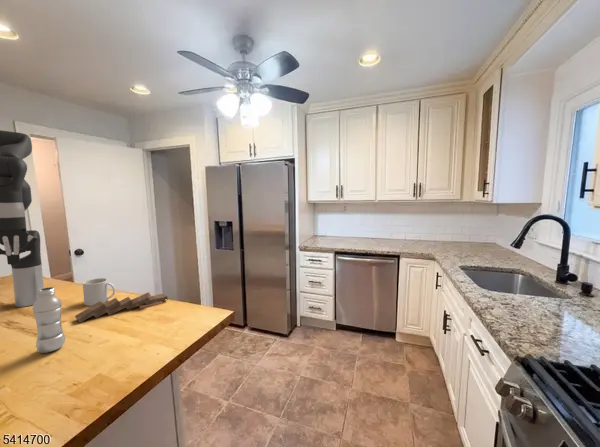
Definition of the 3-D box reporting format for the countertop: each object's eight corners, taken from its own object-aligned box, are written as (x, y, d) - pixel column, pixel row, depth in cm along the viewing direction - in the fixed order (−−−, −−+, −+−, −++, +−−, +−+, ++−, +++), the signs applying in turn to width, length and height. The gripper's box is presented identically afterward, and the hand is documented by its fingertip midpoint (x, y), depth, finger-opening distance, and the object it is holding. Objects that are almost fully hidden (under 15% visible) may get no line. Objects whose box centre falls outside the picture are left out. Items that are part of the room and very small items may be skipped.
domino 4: (125, 307, 109) (148, 297, 112) (127, 301, 113) (148, 292, 117) (127, 310, 110) (150, 300, 113) (129, 304, 114) (150, 295, 117)
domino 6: (139, 306, 112) (162, 301, 118) (138, 302, 116) (160, 298, 122) (140, 310, 112) (162, 304, 118) (138, 306, 116) (160, 301, 122)
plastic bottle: (70, 346, 83) (65, 286, 81) (44, 358, 77) (38, 294, 75) (58, 342, 85) (53, 284, 83) (31, 353, 79) (25, 291, 77)
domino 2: (93, 314, 101) (118, 300, 107) (91, 311, 105) (115, 297, 111) (96, 318, 102) (120, 304, 108) (93, 314, 105) (117, 300, 111)
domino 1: (78, 319, 97) (103, 303, 104) (74, 316, 100) (99, 301, 107) (80, 322, 98) (106, 307, 105) (77, 319, 101) (101, 304, 108)
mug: (79, 303, 116) (78, 282, 115) (102, 296, 125) (101, 276, 124) (94, 308, 112) (93, 286, 111) (117, 300, 120) (115, 279, 119)
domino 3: (107, 312, 104) (131, 299, 110) (105, 308, 108) (128, 296, 114) (109, 315, 105) (132, 303, 111) (106, 311, 108) (130, 300, 114)
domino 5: (145, 301, 113) (167, 296, 119) (142, 298, 117) (163, 293, 123) (145, 305, 113) (167, 299, 120) (142, 302, 117) (164, 296, 123)
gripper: (36, 214, 94) (41, 260, 96) (-20, 215, 85) (-15, 266, 87) (36, 215, 89) (41, 264, 91) (-24, 217, 80) (-18, 271, 81)
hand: (14, 265), depth 89 cm, fingers closed
